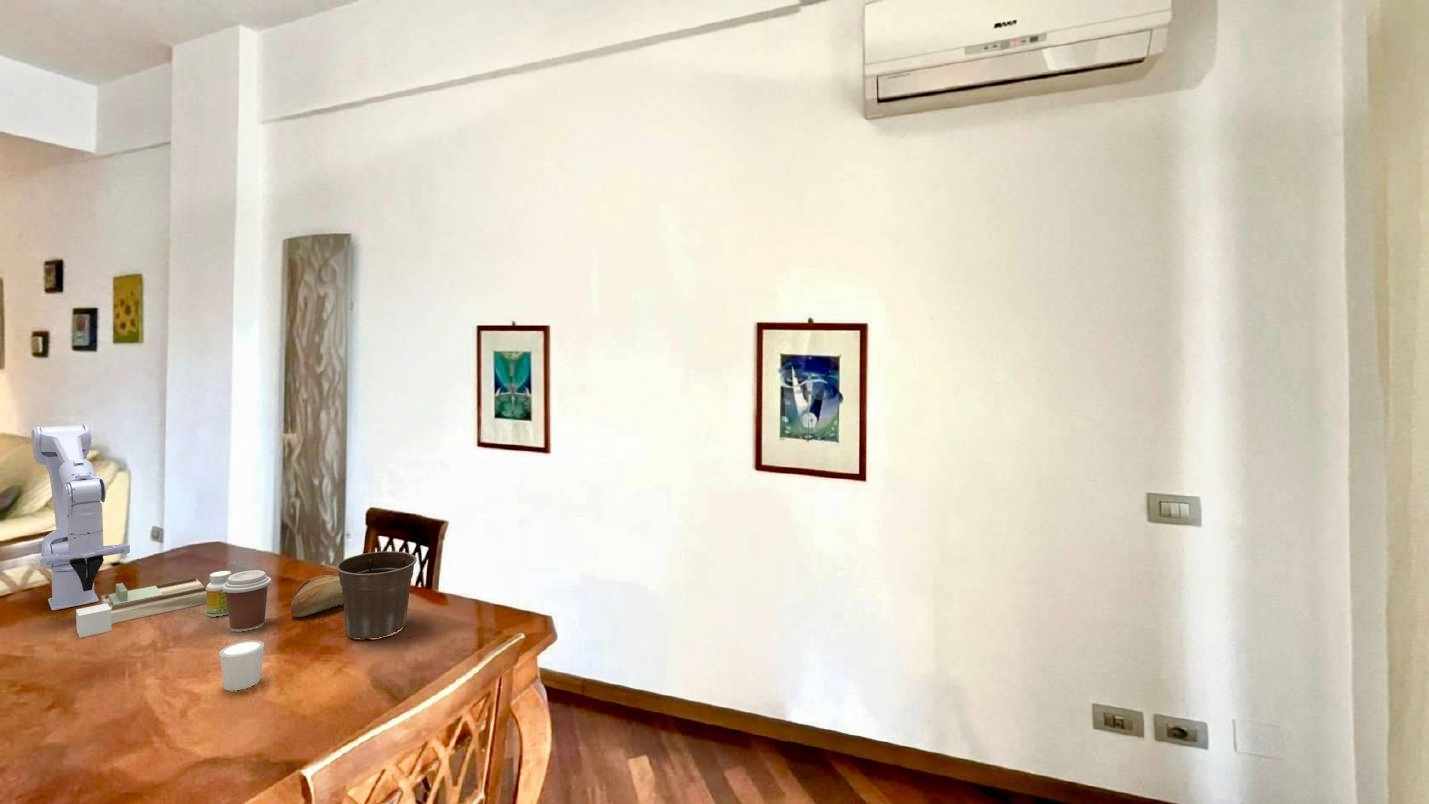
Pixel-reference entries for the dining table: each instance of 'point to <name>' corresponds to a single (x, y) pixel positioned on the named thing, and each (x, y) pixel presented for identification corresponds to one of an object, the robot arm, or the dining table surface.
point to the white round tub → (241, 664)
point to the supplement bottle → (217, 594)
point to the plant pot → (376, 592)
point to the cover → (133, 594)
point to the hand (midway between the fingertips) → (87, 589)
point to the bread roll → (317, 595)
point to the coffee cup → (246, 599)
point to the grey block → (93, 620)
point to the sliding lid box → (160, 600)
